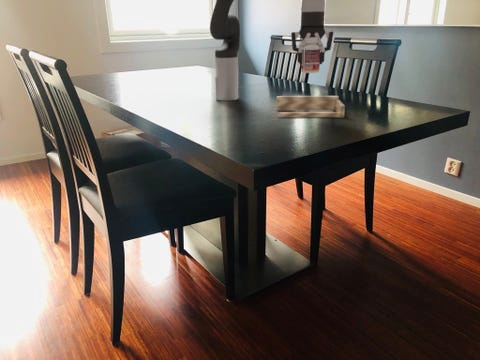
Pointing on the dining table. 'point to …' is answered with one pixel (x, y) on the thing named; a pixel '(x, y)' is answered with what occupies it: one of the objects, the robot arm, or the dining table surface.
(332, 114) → the tray
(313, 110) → the front slot
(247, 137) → the dining table surface
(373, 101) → the dining table surface
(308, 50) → the pill bottle
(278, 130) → the dining table surface
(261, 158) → the dining table surface
